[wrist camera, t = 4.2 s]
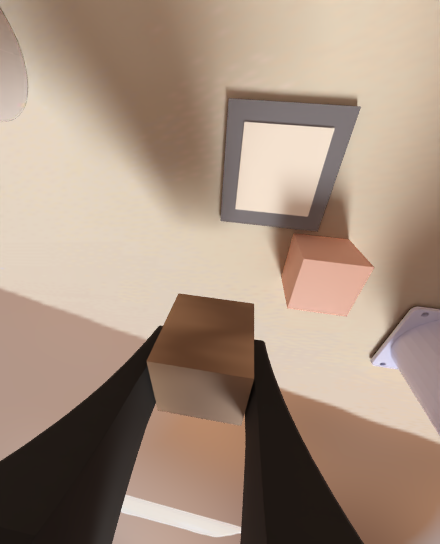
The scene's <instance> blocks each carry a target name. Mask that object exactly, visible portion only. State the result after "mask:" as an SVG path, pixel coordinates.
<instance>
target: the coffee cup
mask: <svg viewBox="0 0 440 544" xmlns="http://www.w3.org/2000/svg"><path fill="white" fill-rule="evenodd" d="M27 94H28V80H27V73H26V68H25V63H24V59H23V56H22V53H21V50H20V47H19V44H18V42H17V39H16V37H15V35H14V33H13V31H12V29H11V27H10V25H9V23H8V21H7V19H6V17H5V16H4V14H3V12H2V11H1V9H0V122H7V121H11V120H13V119H15V118H17V117H18V116H19V115H20V114H21V112H22V111H23V109H24V107H25V104H26V101H27Z"/></svg>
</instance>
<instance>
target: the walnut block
mask: <svg viewBox="0 0 440 544" xmlns="http://www.w3.org/2000/svg"><path fill="white" fill-rule="evenodd" d="M147 366H148V370H149V374H150V379H151V383H152V387H153V391H154V396H155V400H156V404H157V409H158V411H164V412H169V413H174V414H180V415H186V416H191V417H196V418H201V419H207V420H213V421H218V422H223V423H229V424H234V425H241V424H242V421H243V417H244V413H245V410H246V406H247V403H248V399H249V395H250V392H251V388H252V385H253V381H254V304H252V303H245V302H237V301H230V300H223V299H215V298H208V297H201V296H193V295H186V294H178V296H177V298H176V300H175V302H174V304H173V306H172V309H171V311H170V313H169V315H168V317H167V319H166V321H165V323H164V325H163V328H162V330H161V332H160V334H159V336H158V338H157V340H156V342H155V344H154V346H153V349H152V351H151V353H150V355H149V357H148V359H147Z"/></svg>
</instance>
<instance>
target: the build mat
mask: <svg viewBox="0 0 440 544" xmlns="http://www.w3.org/2000/svg"><path fill="white" fill-rule="evenodd" d="M360 108H361V107H358V106H342V105H327V104H311V103H295V102H279V101H263V100H247V99H232V98H229V102H228V116H227V131H226V146H225V161H224V176H223V191H222V206H221V221H226V222H235V223H244V224H253V225H263V226H272V227H281V228H290V229H299V230H308V231H317V232H318V229H319V226H320V223H321V221H322V218H323V215H324V212H325V209H326V206H327V203H328V200H329V197H330V195H331V192H332V189H333V186H334V183H335V180H336V177H337V174H338V171H339V169H340V166H341V163H342V160H343V157H344V154H345V151H346V148H347V145H348V143H349V140H350V137H351V134H352V131H353V128H354V125H355V122H356V120H357V117H358V114H359V111H360Z"/></svg>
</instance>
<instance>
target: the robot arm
mask: <svg viewBox="0 0 440 544" xmlns="http://www.w3.org/2000/svg"><path fill="white" fill-rule="evenodd" d="M162 328H163V326H159V327H158V328H157V329H156V330H155V331H154V333H153V334H152V335H151V336H150V337H149V338H148V339H147V341H146V342H145V343H144V344H143V345H142V346H141V347H140V349H138V350H137V351H136V353H135V354H134V355H133V356H132V357H131V358H130V359H129V360H128V361H127V362H126V363H125V364H124V365H123V366H122V367H121V368H120V369H119V370H118V371H117V372H116V373H115V374H114V375H113V376H111V377H110V378H109V379H108V380H107V381H106V382H105V383H104V384H103V385H102V386H101V387H100V388H98V389H97V390H96V391H95V392H94V393H92V394H91V395H90V396H89V397H88V398H87V399H85V400H84V401H83V402H82V403H80V404H79V405H78V406H77V407H76V408H74V409H73V410H72V411H70V412H69V413H68V414H67V415H65V416H64V417H63V418H61V419H60V420H59V421H57V422H56V423H55V424H53V425H52V426H51V427H49V428H48V429H46V430H45V431H44V432H42V433H41V434H39V435H38V436H37V437H35V438H34V439H33V440H31V441H30V442H28V443H27V444H25V445H24V446H23V447H21V448H20V449H18V450H17V451H15V452H14V453H12V454H11V455H9V456H8V457H6V458H5V459H3V460H1V461H0V544H112V541H113V537H114V533H115V530H116V526H117V523H118V519H119V515H120V512H121V508H122V505H123V501H124V498H125V494H126V491H127V487H128V484H129V480H130V477H131V474H132V470H133V467H134V464H135V461H136V457H137V454H138V451H139V448H140V445H141V441H142V438H143V435H144V432H145V429H146V426H147V423H148V421H149V418H150V416H151V413H152V411H153V408H154V406H155V404H156V400H155V396H154V391H153V387H152V383H151V379H150V374H149V370H148V366H147V359H148V357H149V355H150V353H151V351H152V349H153V346H154V344H155V342H156V340H157V338H158V336H159V334H160V332H161V330H162ZM370 361H371V363H372V365H374V366H379V367H386V368H392V369H398V370H399V371H400V372H401V374H402V376H403V377H404V379H405V380H406V382H407V384H408V385H409V387H410V389H411V390H412V392H413V393H414V395H415V397H416V398H417V400H418V401H419V403H420V405H421V406H422V408H423V410H424V411H425V413H426V414H427V416H428V418H429V419H430V421H431V423H432V424H433V426H434V427H435V429H436V431H437V432H438V434H439V435H440V309H434V308H426V307H413V308H411V309H410V310H409V312H408V313H407V314H406V315H405V317H404V318H403V319H402V321H401V322H400V323H399V324H398V326H397V327H396V328H395V329H394V331H393V332H392V333H391V335H390V336H389V337H388V338H387V340H386V341H385V342H384V343H383V345H382V346H381V347H380V349H379V350H378V351H377V352H376V354H375V355H374V356H373V357H372V359H371V360H370ZM245 430H246V431H245V432H246V448H245V470H244V490H243V491H244V492H243V510H242V526H241V543H240V544H364V543H363V542H362V540H361V539H360V537H359V536H358V534H357V532H356V531H355V529H354V528H353V526H352V524H351V523H350V521H349V520H348V518H347V517H346V515H345V513H344V512H343V510H342V508H341V507H340V505H339V503H338V502H337V500H336V499H335V497H334V495H333V494H332V492H331V490H330V488H329V487H328V485H327V483H326V481H325V480H324V478H323V476H322V474H321V473H320V471H319V469H318V467H317V466H316V464H315V462H314V460H313V459H312V457H311V455H310V453H309V451H308V449H307V447H306V445H305V443H304V442H303V440H302V438H301V436H300V434H299V432H298V430H297V428H296V426H295V423H294V421H293V419H292V417H291V415H290V413H289V411H288V408H287V406H286V404H285V401H284V399H283V396H282V394H281V392H280V389H279V386H278V384H277V381H276V379H275V376H274V373H273V370H272V367H271V364H270V361H269V358H268V354H267V350H266V346H265V342H264V341H261V340H254V381H253V385H252V388H251V392H250V395H249V399H248V403H247V406H246V410H245Z"/></svg>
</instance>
